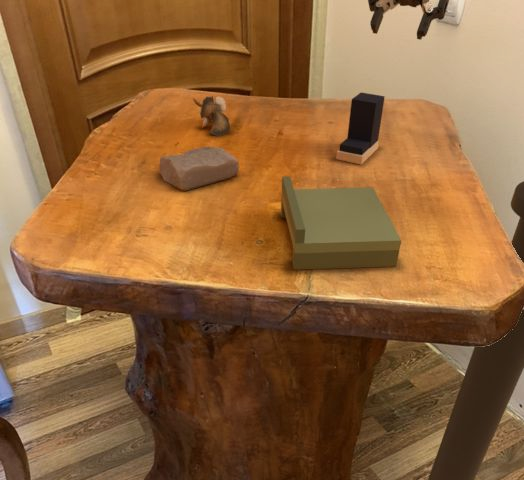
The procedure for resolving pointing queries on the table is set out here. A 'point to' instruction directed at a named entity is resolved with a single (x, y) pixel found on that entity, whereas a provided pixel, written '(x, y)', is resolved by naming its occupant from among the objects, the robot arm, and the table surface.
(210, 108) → the brown animal figurine
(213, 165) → the stone block
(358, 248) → the green flanged plate
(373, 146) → the high-top shoe
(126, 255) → the table surface
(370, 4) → the robot arm
